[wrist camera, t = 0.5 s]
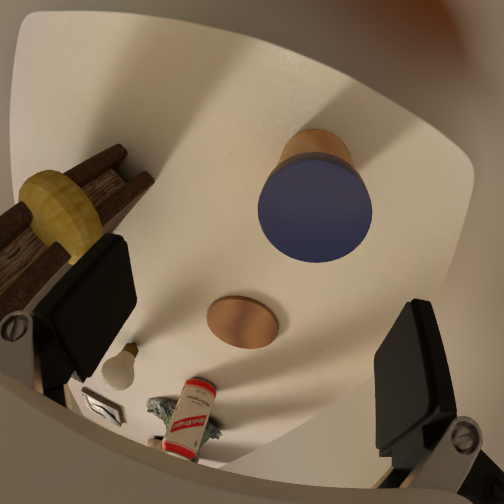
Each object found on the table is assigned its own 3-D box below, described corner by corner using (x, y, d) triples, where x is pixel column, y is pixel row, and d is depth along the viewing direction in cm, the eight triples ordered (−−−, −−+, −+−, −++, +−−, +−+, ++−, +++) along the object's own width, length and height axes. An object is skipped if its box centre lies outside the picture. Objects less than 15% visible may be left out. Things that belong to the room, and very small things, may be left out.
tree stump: (133, 388, 64) (118, 450, 48) (211, 385, 63) (208, 455, 47) (161, 423, 73) (153, 477, 57) (229, 421, 72) (229, 480, 56)
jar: (353, 132, 24) (373, 167, 16) (347, 196, 28) (358, 259, 19) (281, 126, 25) (262, 158, 17) (281, 191, 29) (263, 251, 20)
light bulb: (117, 341, 52) (93, 381, 43) (124, 329, 48) (98, 372, 40) (142, 358, 53) (121, 399, 45) (152, 347, 49) (129, 392, 41)
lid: (375, 157, 17) (381, 166, 15) (360, 252, 20) (363, 267, 19) (261, 148, 18) (256, 156, 16) (262, 244, 22) (258, 258, 20)
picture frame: (122, 422, 86) (119, 407, 75) (120, 427, 84) (117, 412, 74) (90, 405, 85) (83, 387, 75) (88, 410, 84) (80, 392, 73)
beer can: (188, 371, 51) (159, 446, 39) (221, 383, 52) (196, 460, 39) (184, 385, 55) (158, 453, 42) (214, 396, 55) (191, 465, 42)
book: (94, 267, 41) (-4, 396, 21) (57, 228, 38) (-53, 344, 18) (177, 172, 30) (-5, 366, 10) (124, 117, 27) (-93, 248, 7)
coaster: (280, 300, 37) (279, 303, 36) (277, 349, 42) (277, 352, 42) (202, 291, 39) (201, 294, 38) (211, 340, 44) (210, 343, 44)
